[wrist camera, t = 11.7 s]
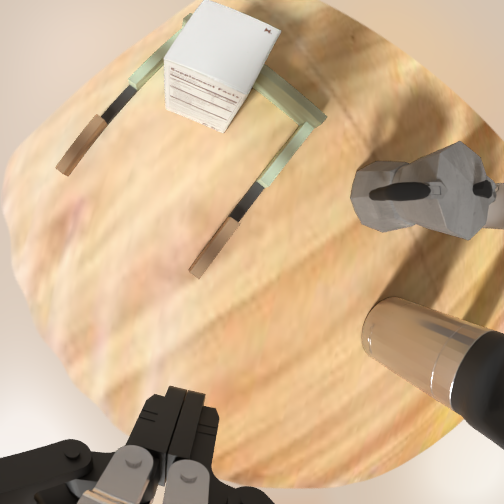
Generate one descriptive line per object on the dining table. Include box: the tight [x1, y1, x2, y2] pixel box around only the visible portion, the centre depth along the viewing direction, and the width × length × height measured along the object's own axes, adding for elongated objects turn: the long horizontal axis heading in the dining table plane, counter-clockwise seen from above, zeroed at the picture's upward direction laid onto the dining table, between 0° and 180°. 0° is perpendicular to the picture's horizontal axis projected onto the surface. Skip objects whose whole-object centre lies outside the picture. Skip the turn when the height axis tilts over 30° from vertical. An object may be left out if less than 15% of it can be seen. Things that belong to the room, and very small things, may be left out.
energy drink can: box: [482, 183, 504, 229], centre depth 36 cm, size 6×6×15 cm
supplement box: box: [164, 0, 281, 133], centre depth 27 cm, size 7×7×13 cm
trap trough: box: [55, 13, 327, 279], centre depth 31 cm, size 22×19×4 cm
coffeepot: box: [350, 141, 497, 240], centre depth 30 cm, size 15×9×18 cm, turn 95°
